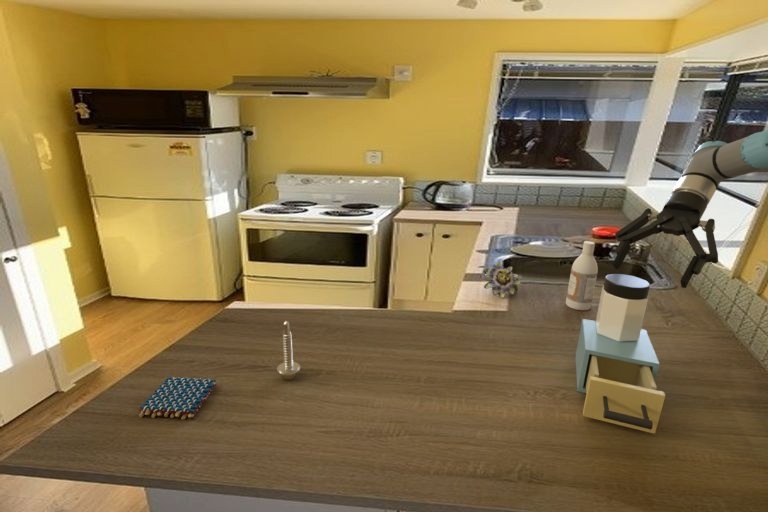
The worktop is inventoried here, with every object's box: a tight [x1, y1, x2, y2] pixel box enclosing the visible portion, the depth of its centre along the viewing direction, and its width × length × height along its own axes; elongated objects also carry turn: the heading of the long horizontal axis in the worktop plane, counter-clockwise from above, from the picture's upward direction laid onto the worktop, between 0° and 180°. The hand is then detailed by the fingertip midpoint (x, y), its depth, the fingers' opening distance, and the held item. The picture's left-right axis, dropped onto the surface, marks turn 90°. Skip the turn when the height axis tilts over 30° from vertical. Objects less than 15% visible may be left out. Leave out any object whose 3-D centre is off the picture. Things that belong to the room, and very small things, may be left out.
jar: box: [595, 273, 651, 342], centre depth 89 cm, size 9×8×12 cm
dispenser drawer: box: [582, 354, 666, 435], centre depth 79 cm, size 19×12×8 cm, turn 158°
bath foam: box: [565, 240, 599, 311], centre depth 124 cm, size 7×7×20 cm
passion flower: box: [482, 261, 522, 299], centre depth 135 cm, size 11×11×12 cm
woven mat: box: [138, 376, 218, 421], centre depth 81 cm, size 10×11×2 cm
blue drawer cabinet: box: [574, 318, 661, 394], centre depth 90 cm, size 15×13×10 cm
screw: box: [276, 320, 302, 381], centre depth 87 cm, size 13×5×5 cm
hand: (647, 275), depth 93 cm, fingers open, 13 cm apart
